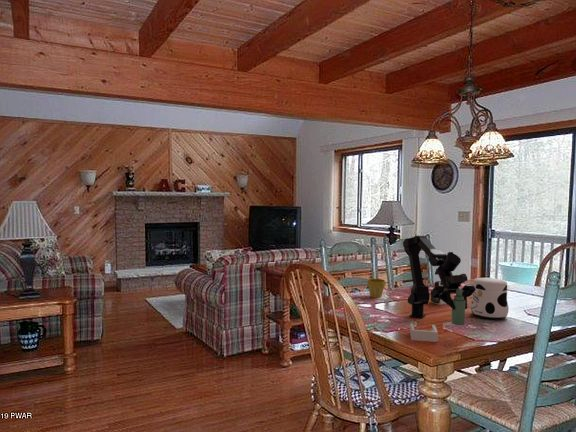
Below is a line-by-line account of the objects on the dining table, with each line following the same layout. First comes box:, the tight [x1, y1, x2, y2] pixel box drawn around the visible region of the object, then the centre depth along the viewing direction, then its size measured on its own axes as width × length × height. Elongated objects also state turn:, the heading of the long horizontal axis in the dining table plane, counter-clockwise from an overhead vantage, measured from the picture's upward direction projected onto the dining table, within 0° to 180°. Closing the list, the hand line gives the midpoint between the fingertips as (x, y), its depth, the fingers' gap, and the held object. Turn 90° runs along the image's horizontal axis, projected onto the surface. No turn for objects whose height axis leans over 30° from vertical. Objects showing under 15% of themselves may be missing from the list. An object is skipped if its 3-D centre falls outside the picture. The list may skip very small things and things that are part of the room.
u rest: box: [409, 322, 439, 343], centre depth 190 cm, size 10×10×4 cm
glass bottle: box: [451, 289, 466, 326], centre depth 189 cm, size 5×5×14 cm
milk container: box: [470, 277, 510, 320], centre depth 223 cm, size 17×17×18 cm
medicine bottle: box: [430, 280, 447, 306], centre depth 249 cm, size 7×7×12 cm
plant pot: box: [366, 278, 386, 299], centre depth 262 cm, size 10×10×10 cm
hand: (460, 308), depth 187 cm, fingers closed on glass bottle, 5 cm apart
